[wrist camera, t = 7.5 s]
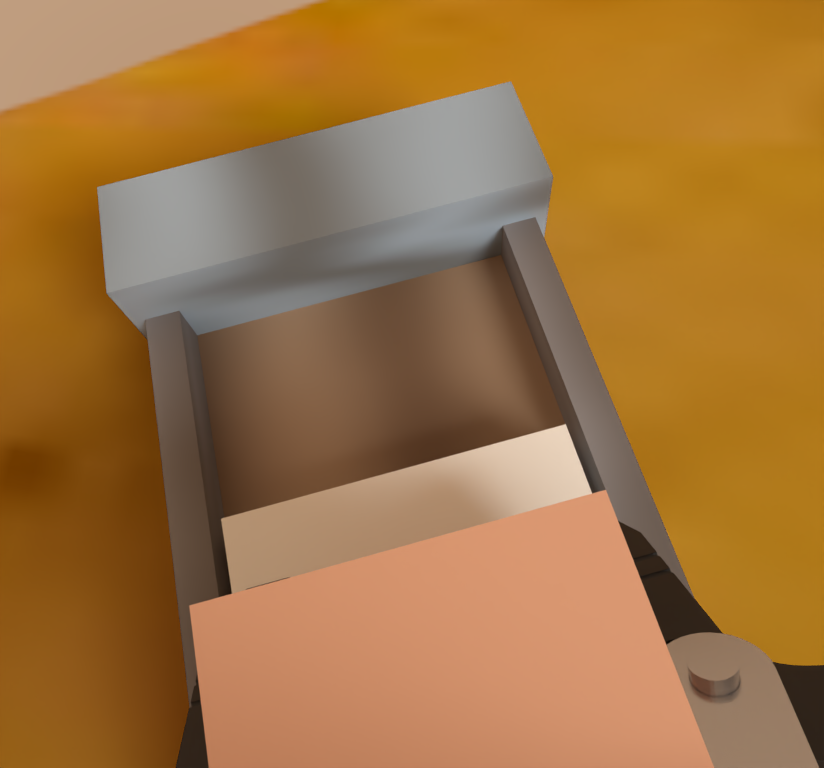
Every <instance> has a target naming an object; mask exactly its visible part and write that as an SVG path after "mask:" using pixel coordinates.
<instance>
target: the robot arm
mask: <svg viewBox="0 0 824 768" xmlns="http://www.w3.org/2000/svg"><path fill="white" fill-rule="evenodd" d="M545 507H546V506H545ZM618 522H619V525H620V527H621V530H622V532H623V535H624V538H625V540H626V543H627V545H628V548H629V550H630V553H631V556H632V558H633V561H634V563H635V566H636V568H637V571H638V574H639V576H640V579H641V581H642V584H643V586H644V589H645V591H646V594H647V597H648V599H649V602H650V604H651V607H652V609H653V612H654V615H655V617H656V620H657V622H658V625H659V627H660V630H661V633H662V635H663V638H664V640H665V643H666V645H667V648H668V650H669V653H670V656H671V658H672V661H673V663H674V666H675V668H676V671H677V674H678V676H679V679H680V681H681V684H682V686H683V689H684V692H685V694H686V697H687V699H688V702H689V704H690V707H691V709H692V712H693V715H694V717H695V720H696V722H697V725H698V727H699V730H700V733H701V735H702V738H703V740H704V743H705V745H706V748H707V751H708V753H709V756H710V758H711V761H712V763H713V766H714V768H824V665H820V666H798V665H786V664H779V663H775V662H772V661H771V660H770V658H769V657H768V656H767V655H766V654H765V653H764V652H763V651H761V650H760V649H759V648H758V647H756V646H754V645H753V644H751V643H749V642H747V641H745V640H743V639H741V638H738V637H734V636H731V635H727V634H723V633H722V632H721V631H720V630H719V628H718V627H717V626H716V625H715V623H714V622H713V621H712V620H711V618H710V617H709V616H708V615H707V613H706V612H705V611H704V610H703V609H702V607H701V606H700V605H699V604H698V602H697V601H696V600H695V599H694V597H693V596H692V595H691V594H690V592H689V591H688V590H687V589H686V588H685V586H684V585H683V584H682V583H681V581H680V580H679V579H678V578H677V576H676V575H675V574H674V573H673V572H672V573H671V571H670V568H669V566H668V565H667V564H666V563H665V562H664V560H663V559H662V558H661V557H660V556H658V555H657V552H656V550H655V549H654V548H653V547H652V545H651V544H650V543H649V542H648V541H647V539H646V538H645V537H644V536H643V534H642V533H641V532H639V531H637V530H635V529H633V528H631V527H629V526H627V525H626V524H624V523H622V522H620V521H618ZM287 578H290V577H287ZM287 578H283V579H287ZM283 579H280V580H283ZM280 580H276V581H280ZM276 581H273V582H276ZM269 583H272V582H269ZM269 583H265V584H269ZM265 584H262V585H265ZM262 585H258V586H262ZM258 586H255V587H258ZM251 588H254V587H251ZM251 588H247V589H251ZM247 589H246V590H247ZM195 681H196V686H194V689H193V694H192V698H191V708H189V711H188V716H187V720H186V725H185V729H184V733H183V738H182V742H181V747H180V751H179V755H178V760H177V764H176V768H209V765H208V756H207V748H206V740H205V731H204V723H203V715H202V707H201V698H200V690H199V682H198V673H197V676H196V680H195Z"/></svg>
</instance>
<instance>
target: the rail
mask: <svg viewBox="0 0 824 768" xmlns="http://www.w3.org/2000/svg"><path fill="white" fill-rule="evenodd" d="M552 180H553V175H552V173H551V171H550V169H549V166H548V164H547V162H546V159H545V157H544V155H543V153H542V150H541V148H540V146H539V144H538V141H537V139H536V137H535V135H534V132H533V130H532V128H531V126H530V123H529V121H528V119H527V117H526V114H525V112H524V110H523V108H522V105H521V103H520V101H519V99H518V96H517V94H516V92H515V90H514V87H513V85H512V83H511V82H507V83H503V84H499V85H495V86H491V87H487V88H483V89H479V90H475V91H472V92H468V93H464V94H460V95H456V96H452V97H448V98H444V99H440V100H436V101H432V102H429V103H425V104H421V105H417V106H413V107H409V108H405V109H401V110H397V111H393V112H389V113H386V114H382V115H378V116H374V117H370V118H366V119H362V120H358V121H354V122H350V123H346V124H342V125H339V126H335V127H331V128H327V129H323V130H319V131H315V132H311V133H307V134H303V135H299V136H296V137H292V138H288V139H284V140H280V141H276V142H272V143H268V144H264V145H260V146H256V147H253V148H249V149H245V150H241V151H237V152H233V153H229V154H225V155H221V156H217V157H213V158H209V159H206V160H202V161H198V162H194V163H190V164H186V165H182V166H178V167H174V168H170V169H166V170H163V171H159V172H155V173H151V174H147V175H143V176H139V177H135V178H131V179H127V180H123V181H120V182H116V183H112V184H108V185H104V186H100V187H97V191H98V202H99V214H100V225H101V236H102V248H103V259H104V270H105V281H106V293H107V294H108V295H109V297H110V298H111V299H112V300H113V301H114V302H115V303H116V304H117V306H118V307H119V308H120V309H121V310H122V311H123V312H124V314H125V315H126V316H127V317H128V318H129V319H130V320H131V322H132V323H133V324H134V325H135V326H136V327H137V328H138V330H139V331H140V332H141V333H142V334H143V335H144V336H145V338H146V339H147V340H148V347H149V356H150V365H151V373H152V382H153V391H154V400H155V408H156V417H157V426H158V435H159V443H160V452H161V461H162V470H163V479H164V487H165V496H166V505H167V514H168V522H169V531H170V540H171V549H172V557H173V566H174V575H175V584H176V592H177V601H178V610H179V619H180V628H181V636H182V645H183V654H184V663H185V671H186V680H187V689H188V698H189V706H190V708H191V698H192V694H193V689H194V686H196V681H195V680H196V676H197V665H196V657H195V649H194V640H193V632H192V624H191V615H190V607H189V606H190V605H193V604H197V603H200V602H204V601H208V600H211V599H215V598H218V597H222V596H226V595H229V594H232V590H231V583H230V576H229V569H228V563H227V556H226V549H225V542H224V535H223V529H222V522H221V519H222V518H225V517H229V516H233V515H236V514H240V513H244V512H247V511H251V510H255V509H258V508H262V507H266V506H269V505H273V504H277V503H280V502H284V501H287V500H291V499H295V498H298V497H302V496H306V495H309V494H313V493H317V492H320V491H324V490H328V489H331V488H335V487H339V486H342V485H346V484H350V483H353V482H357V481H360V480H364V479H368V478H371V477H375V476H379V475H382V474H386V473H390V472H393V471H397V470H401V469H404V468H408V467H412V466H415V465H419V464H422V463H426V462H430V461H433V460H437V459H441V458H444V457H448V456H452V455H455V454H459V453H463V452H466V451H470V450H474V449H477V448H481V447H484V446H488V445H492V444H495V443H499V442H503V441H506V440H510V439H514V438H517V437H521V436H525V435H528V434H532V433H536V432H539V431H543V430H546V429H550V428H554V427H557V426H561V425H565V424H566V426H567V429H568V431H569V434H570V437H571V439H572V442H573V445H574V447H575V450H576V452H577V455H578V458H579V460H580V463H581V466H582V468H583V471H584V473H585V476H586V479H587V481H588V484H589V487H590V489H591V492H592V493H596V492H600V491H603V490H606V491H607V494H608V497H609V499H610V502H611V504H612V507H613V509H614V512H615V514H616V517H617V520H618V521H620V522H622V523H624V524H626V525H627V526H629V527H631V528H633V529H635V530H637V531H639V532H641V533H642V534H643V536H644V537H645V538H646V539H647V541H648V542H649V543H650V544H651V545H652V547H653V548H654V549H655V550H656V552H657V555H658V556H660V557H661V558H662V559H663V560H664V562H665V563H666V564H667V565H668V566H669V568H670V571H671V573H672V572H673V573H674V574H675V575H676V576H677V578H678V579H679V580H680V581H681V583H682V584H683V585H684V586H685V588H686V589H687V590H688V591H689V592H690V594H691V595H692V596H693V594H692V592H691V589H690V587H689V584H688V582H687V580H686V577H685V575H684V572H683V570H682V568H681V565H680V563H679V560H678V558H677V556H676V553H675V551H674V548H673V546H672V544H671V541H670V539H669V536H668V534H667V532H666V529H665V527H664V524H663V522H662V520H661V517H660V515H659V512H658V510H657V508H656V505H655V503H654V500H653V498H652V496H651V493H650V491H649V488H648V486H647V484H646V481H645V479H644V476H643V474H642V472H641V469H640V467H639V464H638V462H637V460H636V457H635V455H634V452H633V450H632V448H631V445H630V443H629V440H628V438H627V436H626V433H625V431H624V428H623V426H622V424H621V421H620V419H619V416H618V414H617V412H616V409H615V407H614V404H613V402H612V400H611V397H610V395H609V392H608V390H607V388H606V385H605V383H604V380H603V378H602V376H601V373H600V371H599V368H598V366H597V364H596V361H595V359H594V356H593V354H592V352H591V349H590V347H589V344H588V342H587V340H586V337H585V335H584V332H583V330H582V328H581V325H580V323H579V320H578V318H577V316H576V313H575V311H574V308H573V306H572V304H571V301H570V299H569V296H568V294H567V292H566V289H565V287H564V284H563V282H562V280H561V277H560V275H559V273H558V270H557V268H556V265H555V263H554V261H553V258H552V256H551V253H550V251H549V249H548V246H547V244H546V241H545V239H544V234H545V228H546V221H547V214H548V207H549V201H550V194H551V187H552ZM693 597H694V596H693Z"/></svg>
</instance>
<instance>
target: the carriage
mask: <svg viewBox="0 0 824 768" xmlns="http://www.w3.org/2000/svg"><path fill="white" fill-rule="evenodd" d="M545 506H546V507H545ZM221 522H222V529H223V535H224V542H225V549H226V556H227V563H228V569H229V576H230V583H231V590H232V594H229V595H226V596H222V597H218V598H215V599H211V600H208V601H204V602H200V603H197V604H193V605H190V606H189V607H190V615H191V624H192V632H193V640H194V649H195V657H196V665H197V673H198V682H199V690H200V698H201V707H202V715H203V723H204V731H205V740H206V748H207V756H208V765H209V768H714V766H713V763H712V761H711V758H710V756H709V753H708V751H707V748H706V745H705V743H704V740H703V738H702V735H701V733H700V730H699V727H698V725H697V722H696V720H695V717H694V715H693V712H692V709H691V707H690V704H689V702H688V699H687V697H686V694H685V692H684V689H683V686H682V684H681V681H680V679H679V676H678V674H677V671H676V668H675V666H674V663H673V661H672V658H671V656H670V653H669V650H668V648H667V645H666V643H665V640H664V638H663V635H662V633H661V630H660V627H659V625H658V622H657V620H656V617H655V615H654V612H653V609H652V607H651V604H650V602H649V599H648V597H647V594H646V591H645V589H644V586H643V584H642V581H641V579H640V576H639V574H638V571H637V568H636V566H635V563H634V561H633V558H632V556H631V553H630V550H629V548H628V545H627V543H626V540H625V538H624V535H623V532H622V530H621V527H620V525H619V522H618V520H617V517H616V514H615V512H614V509H613V507H612V504H611V502H610V499H609V497H608V494H607V491H606V490H603V491H600V492H596V493H592V492H591V489H590V487H589V484H588V481H587V479H586V476H585V473H584V471H583V468H582V466H581V463H580V460H579V458H578V455H577V452H576V450H575V447H574V445H573V442H572V439H571V437H570V434H569V431H568V429H567V426H566V424H565V425H561V426H557V427H554V428H550V429H546V430H543V431H539V432H536V433H532V434H528V435H525V436H521V437H517V438H514V439H510V440H506V441H503V442H499V443H495V444H492V445H488V446H484V447H481V448H477V449H474V450H470V451H466V452H463V453H459V454H455V455H452V456H448V457H444V458H441V459H437V460H433V461H430V462H426V463H422V464H419V465H415V466H412V467H408V468H404V469H401V470H397V471H393V472H390V473H386V474H382V475H379V476H375V477H371V478H368V479H364V480H360V481H357V482H353V483H350V484H346V485H342V486H339V487H335V488H331V489H328V490H324V491H320V492H317V493H313V494H309V495H306V496H302V497H298V498H295V499H291V500H287V501H284V502H280V503H277V504H273V505H269V506H266V507H262V508H258V509H255V510H251V511H247V512H244V513H240V514H236V515H233V516H229V517H225V518H222V519H221ZM287 577H290V578H287ZM283 578H287V579H283ZM280 579H283V580H280ZM276 580H280V581H276ZM273 581H276V582H273ZM269 582H272V583H269ZM265 583H269V584H265ZM262 584H265V585H262ZM258 585H262V586H258ZM255 586H258V587H255ZM251 587H254V588H251ZM247 588H251V589H247ZM246 589H247V590H246Z"/></svg>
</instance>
